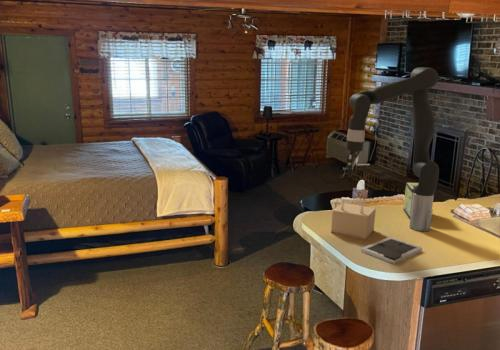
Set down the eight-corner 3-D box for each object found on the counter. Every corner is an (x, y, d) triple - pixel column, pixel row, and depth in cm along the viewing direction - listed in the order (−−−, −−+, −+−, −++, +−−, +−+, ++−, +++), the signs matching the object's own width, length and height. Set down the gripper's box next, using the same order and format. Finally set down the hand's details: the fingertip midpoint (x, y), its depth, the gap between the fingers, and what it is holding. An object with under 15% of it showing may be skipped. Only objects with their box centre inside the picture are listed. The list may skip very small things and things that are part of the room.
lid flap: (375, 209, 221) (376, 196, 219) (367, 218, 209) (368, 203, 207) (342, 204, 228) (343, 190, 227) (332, 211, 216) (333, 197, 215)
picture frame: (393, 265, 187) (421, 252, 200) (394, 258, 186) (422, 246, 200) (360, 252, 199) (389, 241, 212) (361, 246, 198) (389, 235, 211)
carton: (373, 230, 223) (375, 210, 221) (365, 239, 211) (367, 218, 209) (340, 224, 231) (342, 204, 228) (331, 232, 219) (332, 212, 216)
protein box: (422, 210, 254) (426, 182, 250) (430, 220, 239) (434, 190, 235) (402, 209, 255) (405, 181, 251) (409, 219, 240) (412, 189, 236)
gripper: (360, 142, 202) (356, 179, 206) (367, 138, 215) (362, 173, 219) (343, 140, 205) (339, 177, 209) (350, 136, 218) (346, 171, 222)
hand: (351, 175), depth 214 cm, fingers open, 8 cm apart
